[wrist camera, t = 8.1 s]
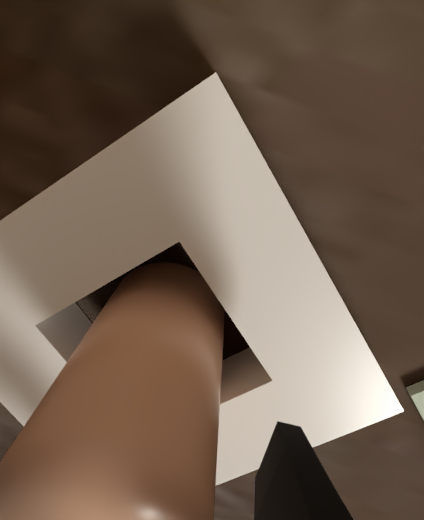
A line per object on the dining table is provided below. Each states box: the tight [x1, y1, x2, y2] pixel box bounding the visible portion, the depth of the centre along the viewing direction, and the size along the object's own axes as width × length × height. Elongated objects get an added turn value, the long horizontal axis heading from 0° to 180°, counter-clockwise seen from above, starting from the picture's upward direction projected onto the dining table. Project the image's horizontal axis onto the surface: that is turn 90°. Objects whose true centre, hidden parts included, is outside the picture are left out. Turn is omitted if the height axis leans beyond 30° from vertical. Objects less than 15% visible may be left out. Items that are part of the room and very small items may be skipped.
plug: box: [0, 262, 225, 520], centre depth 11 cm, size 4×4×8 cm
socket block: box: [0, 73, 404, 486], centre depth 11 cm, size 12×12×8 cm
